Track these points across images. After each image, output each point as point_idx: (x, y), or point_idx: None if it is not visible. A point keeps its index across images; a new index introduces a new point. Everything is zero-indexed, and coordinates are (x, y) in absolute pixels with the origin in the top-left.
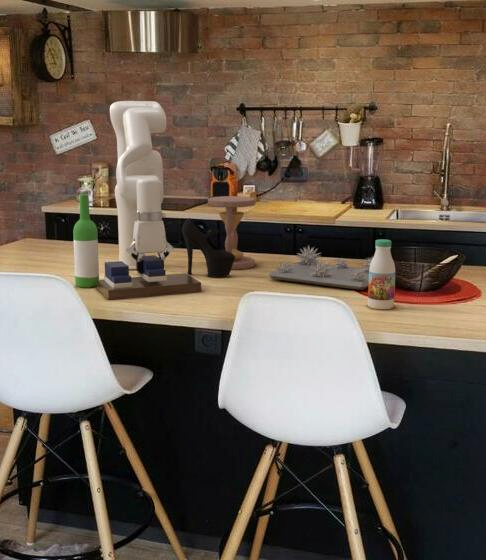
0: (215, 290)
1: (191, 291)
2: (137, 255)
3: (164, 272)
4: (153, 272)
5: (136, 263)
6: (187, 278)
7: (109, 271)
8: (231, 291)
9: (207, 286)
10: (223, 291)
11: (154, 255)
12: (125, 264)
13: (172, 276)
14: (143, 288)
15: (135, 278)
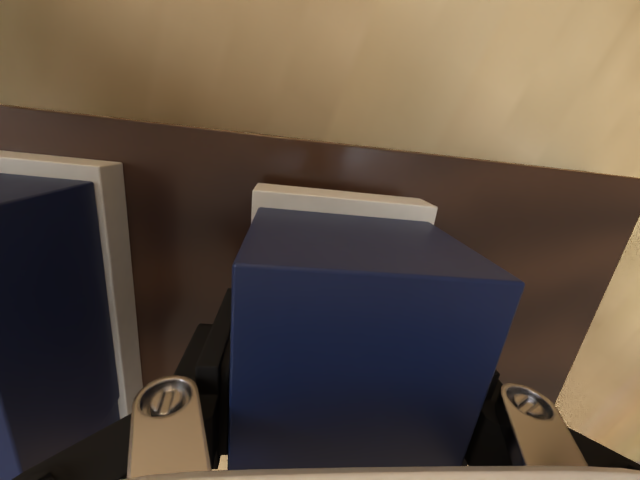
0: (567, 403)
1: None
2: (152, 469)
3: None
4: None
5: (176, 374)
6: (546, 341)
7: None
8: (602, 437)
9: (598, 325)
10: (578, 427)
11: (509, 307)
12: (2, 448)
13: (510, 250)
14: None
15: (236, 195)
